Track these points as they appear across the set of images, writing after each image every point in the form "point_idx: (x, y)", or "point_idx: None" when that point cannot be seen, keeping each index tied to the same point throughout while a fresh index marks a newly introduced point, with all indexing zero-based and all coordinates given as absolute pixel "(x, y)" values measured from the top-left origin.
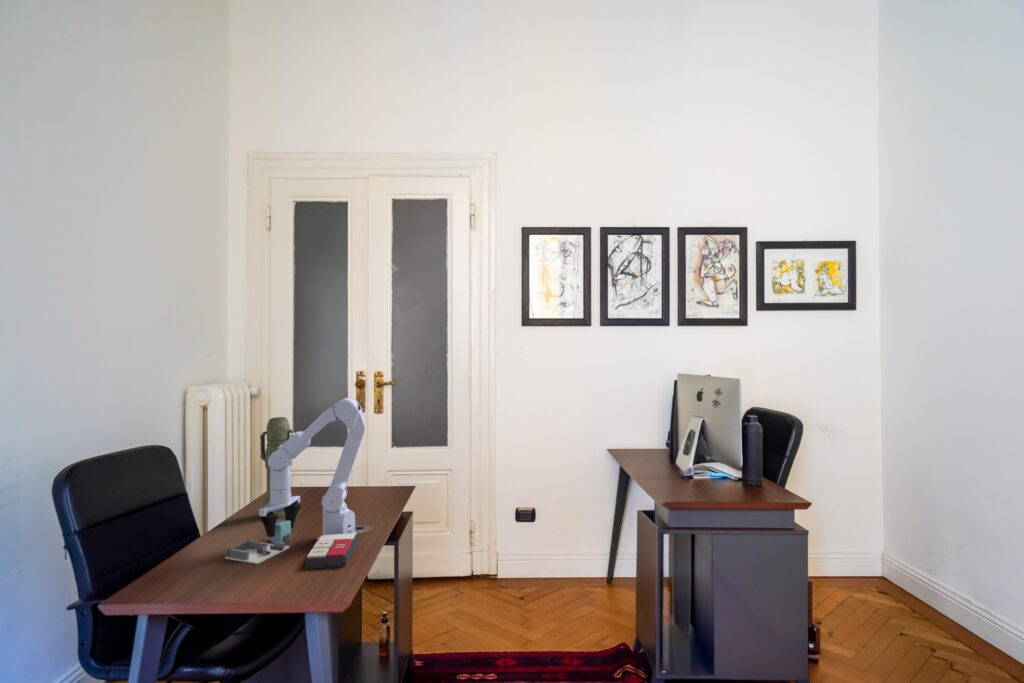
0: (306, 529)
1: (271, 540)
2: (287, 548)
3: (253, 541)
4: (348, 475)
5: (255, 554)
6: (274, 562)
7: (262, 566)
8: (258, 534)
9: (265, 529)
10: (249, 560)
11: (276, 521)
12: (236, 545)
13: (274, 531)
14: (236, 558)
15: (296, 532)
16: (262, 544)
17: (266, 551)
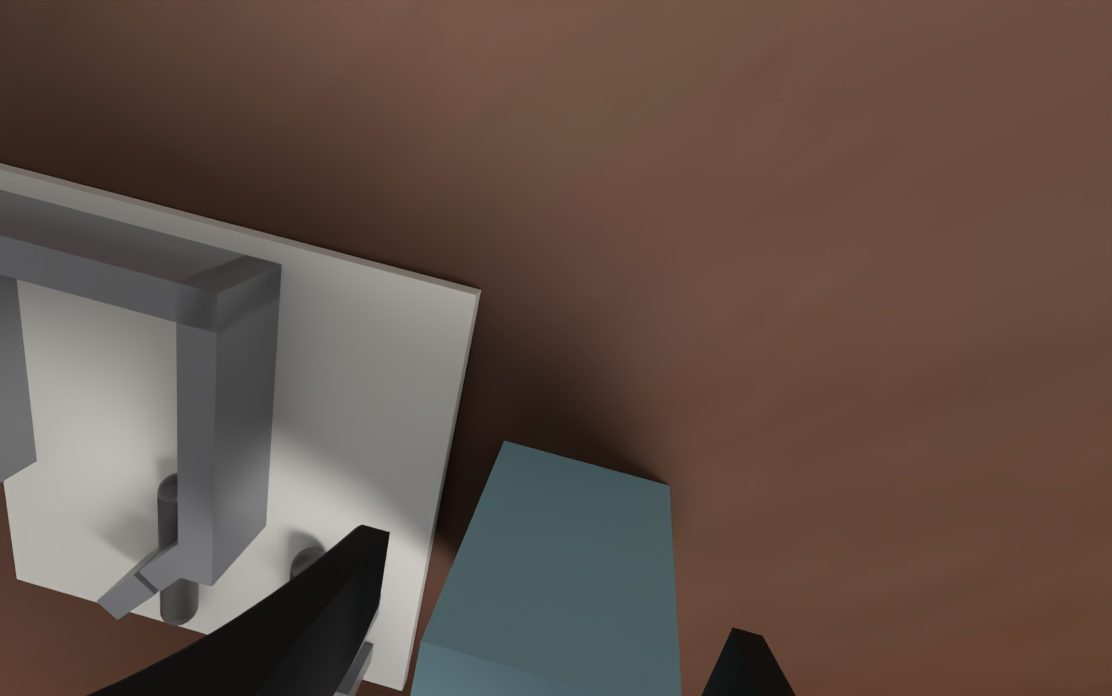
0: (992, 654)
1: (494, 469)
2: (376, 676)
3: (196, 404)
4: None
5: (143, 468)
6: (111, 676)
7: (18, 622)
8: (858, 36)
9: (280, 588)
10: (18, 486)
11: (554, 689)
12: (3, 240)
13: (332, 682)
14: None
15: (885, 581)
16: (185, 544)
17: (162, 592)
